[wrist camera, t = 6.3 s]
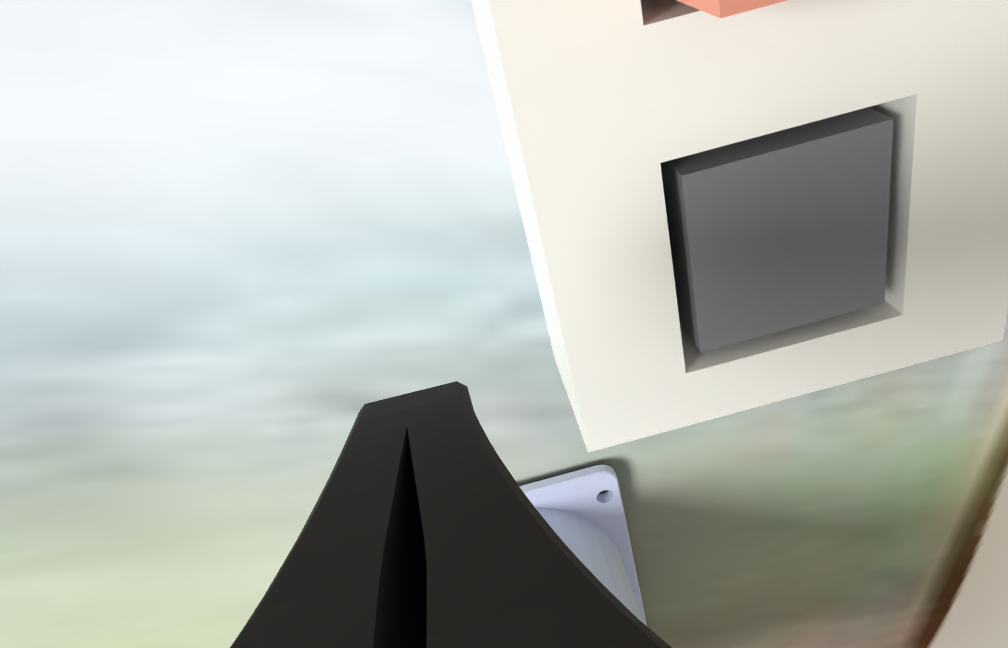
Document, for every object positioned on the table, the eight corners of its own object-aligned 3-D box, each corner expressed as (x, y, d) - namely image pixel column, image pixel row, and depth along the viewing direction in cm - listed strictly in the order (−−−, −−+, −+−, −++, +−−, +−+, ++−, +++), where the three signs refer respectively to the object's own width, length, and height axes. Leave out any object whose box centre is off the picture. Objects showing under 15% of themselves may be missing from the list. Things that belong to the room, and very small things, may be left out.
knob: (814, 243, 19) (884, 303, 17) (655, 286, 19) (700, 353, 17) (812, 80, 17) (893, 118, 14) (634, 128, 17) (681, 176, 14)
